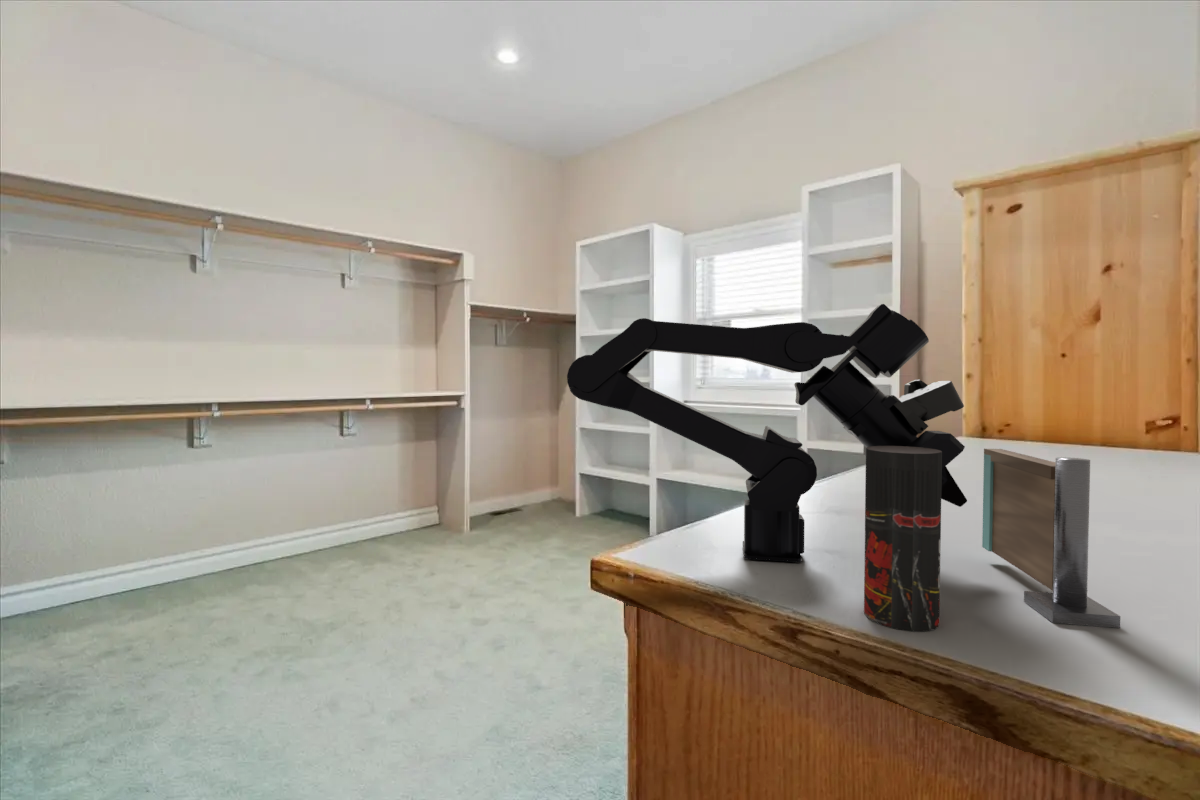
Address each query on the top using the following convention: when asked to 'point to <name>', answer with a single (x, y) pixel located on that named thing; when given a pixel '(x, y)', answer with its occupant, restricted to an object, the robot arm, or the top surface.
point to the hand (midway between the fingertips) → (962, 503)
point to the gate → (1020, 511)
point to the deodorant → (903, 537)
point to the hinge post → (1071, 553)
